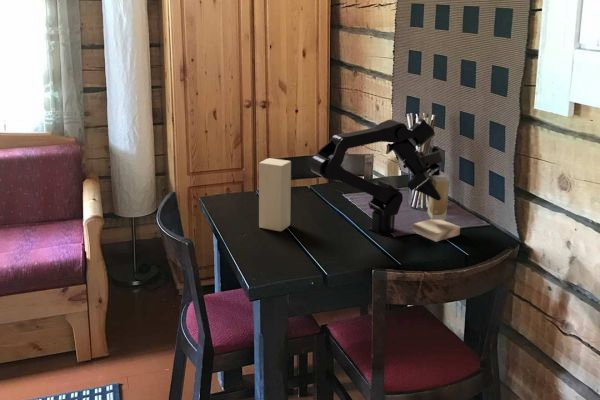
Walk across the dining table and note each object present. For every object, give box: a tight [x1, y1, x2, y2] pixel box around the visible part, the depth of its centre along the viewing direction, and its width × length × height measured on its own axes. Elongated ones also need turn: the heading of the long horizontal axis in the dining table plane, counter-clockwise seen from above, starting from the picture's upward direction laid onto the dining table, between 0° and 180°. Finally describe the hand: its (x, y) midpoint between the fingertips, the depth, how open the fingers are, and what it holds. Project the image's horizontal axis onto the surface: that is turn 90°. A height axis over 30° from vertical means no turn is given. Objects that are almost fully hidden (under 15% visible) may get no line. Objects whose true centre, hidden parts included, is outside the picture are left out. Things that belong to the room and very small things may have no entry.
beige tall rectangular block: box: [258, 157, 292, 232], centre depth 212 cm, size 8×7×21 cm
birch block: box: [412, 218, 461, 242], centre depth 210 cm, size 10×10×3 cm
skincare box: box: [426, 175, 450, 221], centre depth 207 cm, size 6×4×12 cm
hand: (443, 196), depth 206 cm, fingers closed on skincare box, 7 cm apart
